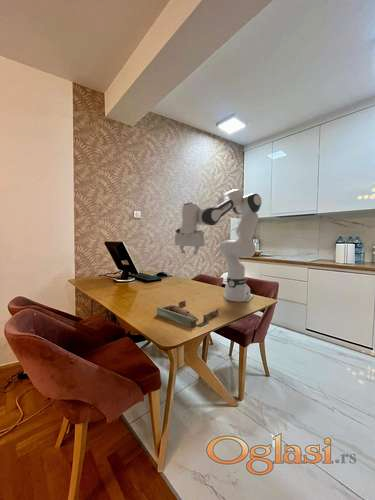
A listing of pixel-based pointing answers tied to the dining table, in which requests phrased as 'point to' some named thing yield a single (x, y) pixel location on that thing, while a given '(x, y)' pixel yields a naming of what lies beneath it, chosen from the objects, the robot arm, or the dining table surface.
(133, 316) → the dining table surface
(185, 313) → the brown oblong lump
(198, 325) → the mats
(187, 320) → the trap lane
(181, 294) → the dining table surface
